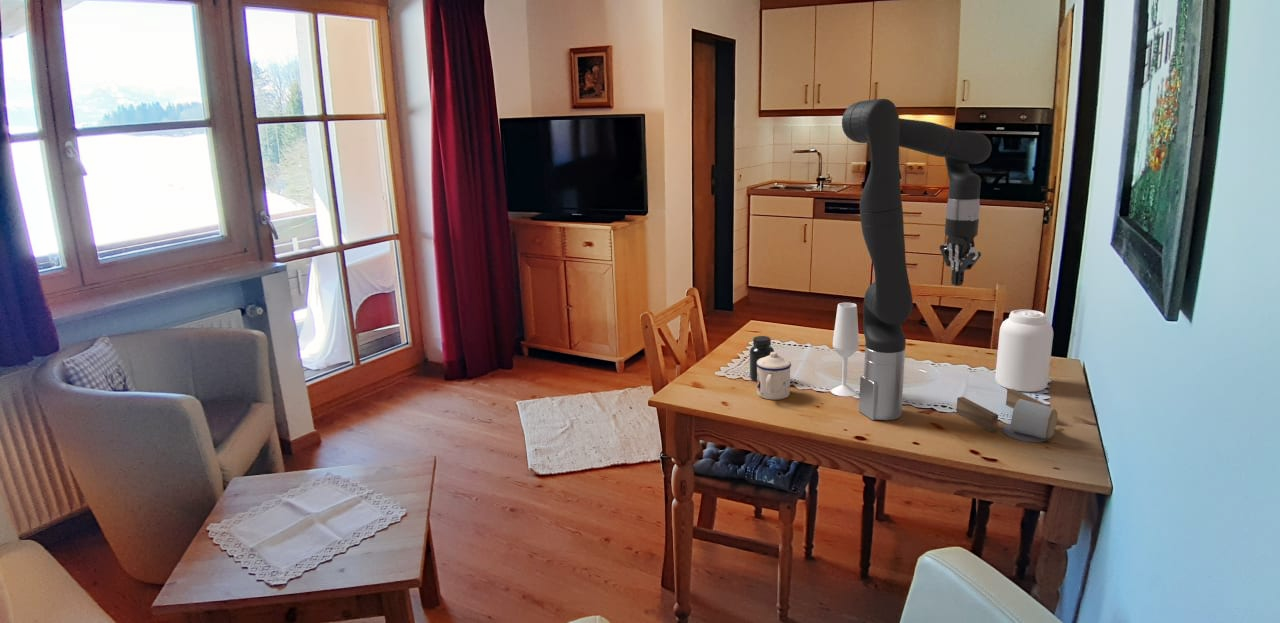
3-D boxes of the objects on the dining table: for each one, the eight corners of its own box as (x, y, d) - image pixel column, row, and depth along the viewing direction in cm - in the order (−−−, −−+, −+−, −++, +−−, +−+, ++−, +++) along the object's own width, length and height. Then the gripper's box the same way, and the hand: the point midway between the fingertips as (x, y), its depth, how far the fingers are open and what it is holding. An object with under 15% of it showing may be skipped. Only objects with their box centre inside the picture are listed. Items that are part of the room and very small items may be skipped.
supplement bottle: (748, 374, 214) (748, 334, 211) (772, 374, 213) (772, 334, 210) (750, 383, 207) (751, 342, 204) (775, 382, 207) (776, 341, 204)
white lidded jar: (1053, 382, 199) (1061, 311, 194) (1038, 396, 190) (1047, 321, 185) (1004, 373, 208) (1010, 303, 202) (987, 385, 199) (994, 313, 194)
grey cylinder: (1048, 444, 163) (1053, 412, 162) (1008, 435, 169) (1012, 404, 167) (1059, 429, 171) (1063, 398, 169) (1020, 421, 176) (1024, 390, 174)
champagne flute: (843, 385, 203) (846, 300, 197) (862, 392, 197) (866, 305, 191) (825, 390, 200) (828, 304, 193) (844, 398, 194) (848, 309, 188)
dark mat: (1024, 444, 164) (1024, 444, 164) (992, 427, 174) (992, 426, 174) (1061, 438, 167) (1061, 437, 167) (1027, 421, 176) (1027, 420, 176)
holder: (990, 432, 171) (992, 416, 170) (956, 412, 183) (957, 397, 182) (1048, 422, 175) (1050, 406, 174) (1011, 403, 187) (1012, 388, 186)
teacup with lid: (759, 386, 204) (760, 346, 201) (793, 389, 201) (793, 348, 198) (750, 402, 194) (750, 360, 191) (785, 406, 190) (786, 363, 187)
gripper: (932, 214, 189) (927, 281, 193) (967, 221, 176) (962, 292, 181) (957, 212, 190) (952, 278, 195) (994, 219, 178) (988, 289, 183)
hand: (957, 284), depth 188 cm, fingers closed
